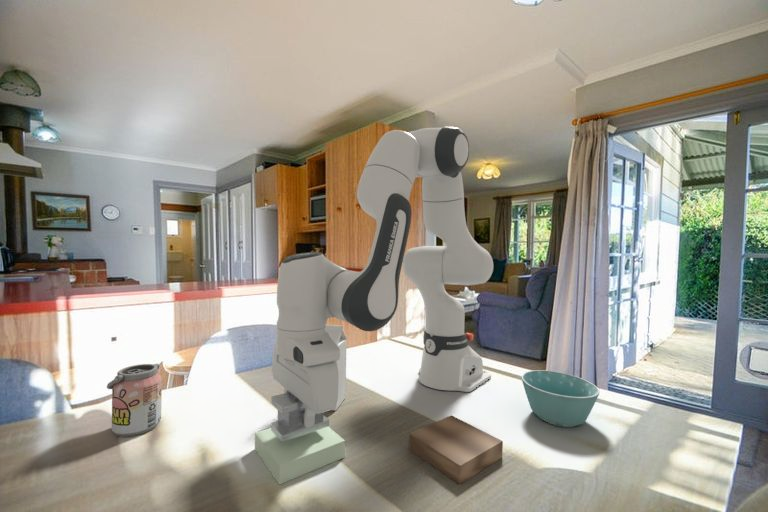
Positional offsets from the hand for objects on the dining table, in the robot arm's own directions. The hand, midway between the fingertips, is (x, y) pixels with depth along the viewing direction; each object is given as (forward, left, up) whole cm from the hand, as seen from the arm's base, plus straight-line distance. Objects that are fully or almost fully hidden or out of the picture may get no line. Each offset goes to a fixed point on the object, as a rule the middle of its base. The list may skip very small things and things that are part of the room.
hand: (300, 417), depth 62 cm
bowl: (-53, +22, -7) cm, 58 cm away
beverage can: (+23, -28, -7) cm, 37 cm away
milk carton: (-14, -15, -7) cm, 22 cm away
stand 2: (-23, +17, -6) cm, 29 cm away
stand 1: (0, 0, -6) cm, 7 cm away
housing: (0, 0, -2) cm, 2 cm away
